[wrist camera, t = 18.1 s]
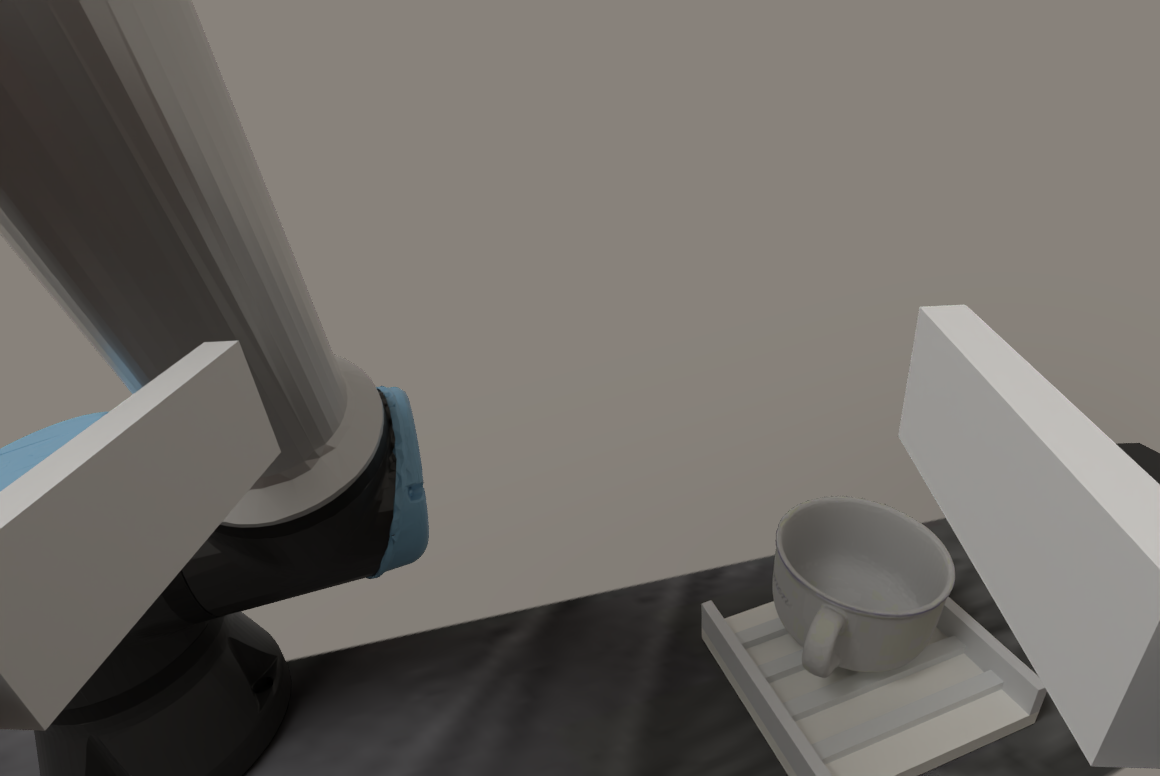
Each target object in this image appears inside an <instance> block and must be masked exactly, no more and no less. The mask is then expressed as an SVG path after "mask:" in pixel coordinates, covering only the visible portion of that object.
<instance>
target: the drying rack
mask: <svg viewBox="0 0 1160 776" xmlns="http://www.w3.org/2000/svg"><path fill="white" fill-rule="evenodd" d="M701 612H702V639H703V641H704V642H705V644H706V645H707V647H708V649H709V650H710V652H711V653H712V655H713V656H714V658H715V660H716V661H717V663H718V664H719V666H720V668H721V669H722V671H723V672H724V674H725V676H726V677H727V679H728V680H729V682H730V684H731V685H732V687H733V688H734V690H735V691H736V693H737V695H738V696H739V698H740V699H741V701H742V703H743V704H744V706H745V707H746V709H747V711H748V712H749V714H750V715H751V717H752V719H753V720H754V722H755V723H756V725H757V727H758V728H759V730H760V731H761V733H762V734H763V736H764V738H765V739H766V741H767V742H768V744H769V746H770V747H771V749H772V750H773V752H774V754H775V755H776V757H777V758H778V760H779V762H780V763H781V765H782V766H783V768H784V769H785V771H786V773H787V774H788V776H918V775H920V774H923V773H925V772H927V771H929V770H932V769H934V768H936V767H938V766H940V765H943V764H945V763H947V762H949V761H952V760H954V759H956V758H958V757H960V756H963V755H965V754H967V753H969V752H972V751H974V750H976V749H978V748H980V747H983V746H985V745H987V744H989V743H992V742H994V741H996V740H998V739H1000V738H1003V737H1005V736H1007V735H1009V734H1011V733H1014V732H1016V731H1018V730H1020V729H1023V728H1025V727H1027V726H1029V725H1031V724H1034V723H1035V721H1036V718H1037V716H1038V713H1039V711H1040V708H1041V705H1042V703H1043V700H1044V697H1045V695H1046V692H1047V690H1046V688H1045V686H1044V685H1043V683H1042V681H1041V680H1040V678H1039V677H1038V676H1037V675H1036V674H1035V673H1034V672H1033V671H1032V670H1031V669H1029V668H1028V667H1027V666H1026V665H1025V664H1024V663H1023V662H1022V661H1020V660H1019V659H1018V658H1017V657H1016V656H1015V655H1014V654H1013V653H1011V652H1010V651H1009V650H1008V649H1007V648H1006V647H1005V646H1004V645H1002V644H1001V643H1000V642H999V641H998V640H997V639H996V638H995V637H993V636H992V635H991V634H990V633H989V632H988V631H987V630H986V629H984V628H983V627H982V626H981V625H980V624H979V623H978V622H977V621H975V620H974V619H973V618H972V617H971V616H970V615H969V614H968V613H966V612H965V611H964V610H963V609H962V608H961V607H960V606H959V605H957V604H956V603H955V602H954V601H953V600H952V599H951V598H950V597H948V598H947V599H946V602H945V605H944V607H943V610H942V613H941V615H940V618H939V621H938V623H937V626H936V628H935V630H934V632H933V634H932V636H931V639H930V640H929V642H928V644H927V645H926V647H925V648H924V649H923V651H922V652H921V653H920V654H919V655H918V656H917V657H916V658H915V659H913V660H912V661H910V662H909V663H907V664H905V665H903V666H901V667H899V668H896V669H893V670H889V671H883V672H873V673H871V672H859V671H852V670H848V669H844V668H840V667H837V668H836V669H834V670H833V672H832V673H831V675H830V676H829V677H826V678H822V677H818V676H815V675H813V674H811V673H810V672H808V671H807V670H806V669H805V668H804V667H803V665H802V652H803V647H802V646H801V645H800V644H799V643H798V642H796V641H795V639H794V638H793V637H792V636H791V635H790V634H789V633H788V631H787V630H786V628H785V627H784V626H783V624H782V622H781V620H780V618H779V616H778V613H777V611H776V608H775V604H774V601H773V602H770V603H767V604H764V605H761V606H759V607H756V608H753V609H750V610H747V611H744V612H742V613H739V614H736V615H733V616H730V617H727V618H725V619H724V618H723V616H722V615H721V614H720V612H719V611H718V609H717V608H716V606H715V605H714V603H713V602H712V600H710V601H708V602H705V603H702V604H701Z"/></svg>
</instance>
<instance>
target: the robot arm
mask: <svg viewBox="0 0 1160 776" xmlns="http://www.w3.org/2000/svg"><path fill="white" fill-rule="evenodd" d="M0 235H1V236H2V237H3V238H4V239H5V241H6V242H7V243H8V244H9V245H10V247H11V248H12V249H13V250H14V251H15V253H16V254H17V255H18V256H19V258H20V259H21V260H22V261H23V262H24V264H25V265H26V266H27V267H28V268H29V269H30V271H31V272H32V273H33V274H34V276H35V277H36V278H37V279H38V280H39V282H40V283H41V284H42V285H43V286H44V288H45V289H46V290H47V291H48V293H49V294H50V295H51V296H52V297H53V299H54V300H55V301H56V302H57V303H58V304H59V306H60V307H61V308H62V309H63V311H64V312H65V313H66V314H67V315H68V317H69V318H70V319H71V320H72V321H73V323H74V324H75V325H76V326H77V328H78V329H79V330H80V331H81V332H82V333H83V335H84V336H85V337H86V338H87V340H88V341H89V342H90V343H91V344H92V346H93V347H94V348H95V349H96V350H97V352H98V353H99V354H100V355H101V356H102V358H103V359H104V360H105V361H106V362H107V364H108V365H109V366H110V367H111V369H112V370H113V371H114V372H115V373H116V374H117V376H118V377H119V378H120V379H121V381H122V382H123V383H124V384H125V385H126V387H127V388H128V389H129V390H130V392H131V393H132V394H133V395H132V396H130V397H129V398H128V399H126V400H125V401H123V402H122V403H121V404H119V405H118V406H117V407H115V408H114V409H112V410H111V411H110V412H99V413H93V414H88V415H83V416H80V417H76V418H72V419H69V420H66V421H63V422H60V423H57V424H54V425H51V426H49V427H46V428H44V429H41V430H39V431H36V432H34V433H32V434H30V435H27V436H25V437H23V438H21V439H19V440H16V441H14V442H13V443H10V444H8V445H7V446H4V447H2V448H1V449H0V729H10V730H34V733H35V740H36V747H37V754H38V762H39V769H40V776H242V775H243V774H244V773H245V772H246V771H247V770H248V769H249V768H250V767H251V766H252V765H253V763H254V762H255V761H256V760H257V759H258V758H259V756H260V755H261V754H262V753H263V751H264V750H265V749H266V747H267V746H268V744H269V743H270V741H271V740H272V738H273V737H274V735H275V733H276V732H277V730H278V728H279V726H280V724H281V722H282V720H283V718H284V715H285V713H286V710H287V707H288V703H289V699H290V693H291V676H290V671H289V668H288V665H287V663H286V661H285V659H284V657H283V654H282V652H281V650H280V648H279V646H278V644H277V643H276V641H275V640H274V639H273V638H272V636H271V635H270V634H269V633H268V632H267V631H265V630H264V629H263V628H261V627H260V626H259V625H258V624H256V623H255V622H254V621H253V620H251V619H250V618H248V617H247V616H246V615H245V614H244V613H242V612H241V611H244V610H247V609H251V608H255V607H259V606H262V605H266V604H270V603H273V602H277V601H281V600H284V599H288V598H292V597H295V596H299V595H303V594H307V593H310V592H313V591H317V590H321V589H325V588H329V587H332V586H336V585H340V584H343V583H347V582H351V581H354V580H358V579H362V578H365V577H366V578H368V579H373V578H377V577H380V575H382V574H383V573H384V572H386V571H389V570H392V569H395V568H398V567H401V566H404V565H407V564H410V563H412V562H414V561H416V560H417V559H419V558H420V557H421V555H422V554H423V553H424V551H425V549H426V547H427V544H428V538H429V525H428V513H427V505H426V496H425V491H424V488H423V476H422V466H421V458H420V452H419V446H418V440H417V434H416V429H415V424H414V419H413V415H412V411H411V406H410V402H409V399H408V396H407V395H406V393H405V392H404V391H403V390H401V389H400V388H397V387H391V388H386V387H384V386H381V387H375V385H374V383H373V382H372V380H371V379H370V377H369V376H368V375H367V374H366V373H365V372H364V371H363V370H362V369H361V368H359V367H358V366H356V365H355V364H354V363H352V362H350V361H348V360H347V359H345V358H342V357H340V356H337V355H335V354H333V352H332V350H331V347H330V345H329V342H328V340H327V337H326V335H325V332H324V330H323V327H322V325H321V322H320V320H319V317H318V315H317V312H316V310H315V307H314V305H313V302H312V300H311V297H310V295H309V292H308V290H307V287H306V285H305V282H304V280H303V277H302V275H301V272H300V270H299V267H298V265H297V262H296V260H295V257H294V255H293V252H292V250H291V247H290V245H289V242H288V240H287V237H286V235H285V232H284V230H283V227H282V225H281V222H280V220H279V217H278V215H277V212H276V210H275V207H274V205H273V202H272V200H271V197H270V195H269V192H268V190H267V187H266V185H265V182H264V180H263V177H262V175H261V172H260V170H259V167H258V165H257V162H256V160H255V157H254V155H253V152H252V150H251V147H250V145H249V142H248V140H247V137H246V135H245V133H244V130H243V127H242V125H241V122H240V120H239V117H238V115H237V113H236V110H235V107H234V105H233V102H232V100H231V97H230V95H229V92H228V90H227V87H226V85H225V82H224V80H223V77H222V75H221V72H220V70H219V67H218V65H217V62H216V60H215V57H214V55H213V52H212V50H211V47H210V45H209V42H208V40H207V37H206V35H205V32H204V30H203V27H202V25H201V22H200V20H199V17H198V15H197V13H196V10H195V7H194V5H193V2H192V0H0ZM898 436H899V438H900V440H901V442H902V443H903V445H904V447H905V448H906V450H907V452H908V454H909V455H910V457H911V458H912V461H913V462H914V464H915V466H916V467H917V469H918V471H919V472H920V474H921V476H922V478H923V479H924V481H925V483H926V484H927V486H928V488H929V490H930V491H931V493H932V495H933V496H934V498H935V500H936V502H937V503H938V505H939V507H940V508H941V510H942V512H943V514H944V515H945V517H946V519H947V520H948V522H949V524H950V526H951V527H952V529H953V531H954V532H955V534H956V536H957V538H958V539H959V541H960V543H961V544H962V546H963V548H964V550H965V551H966V553H967V555H968V556H969V558H970V560H971V562H972V563H973V565H974V567H975V568H976V570H977V572H978V573H979V575H980V577H981V579H982V580H983V582H984V584H985V585H986V587H987V589H988V591H989V592H990V594H991V596H992V597H993V599H994V601H995V603H996V604H997V606H998V608H999V609H1000V611H1001V613H1002V615H1003V616H1004V618H1005V620H1006V621H1007V623H1008V625H1009V627H1010V628H1011V630H1012V632H1013V633H1014V635H1015V637H1016V639H1017V640H1018V642H1019V644H1020V645H1021V647H1022V649H1023V651H1024V652H1025V654H1026V656H1027V657H1028V659H1029V661H1030V663H1031V664H1032V666H1033V668H1034V669H1035V671H1036V673H1037V674H1038V676H1039V678H1040V680H1041V681H1042V683H1043V685H1044V686H1045V688H1046V690H1047V692H1048V693H1049V695H1050V697H1051V698H1052V700H1053V702H1054V704H1055V705H1056V707H1057V709H1058V710H1059V712H1060V714H1061V716H1062V717H1063V719H1064V721H1065V722H1066V724H1067V726H1068V728H1069V729H1070V731H1071V733H1072V734H1073V736H1074V738H1075V740H1076V741H1077V743H1078V745H1079V746H1080V748H1081V750H1082V752H1083V753H1084V755H1085V757H1086V758H1087V760H1088V762H1089V764H1090V765H1091V766H1097V767H1127V768H1128V767H1129V768H1158V769H1160V453H1158V452H1156V451H1154V450H1152V449H1150V448H1148V447H1146V446H1144V445H1142V444H1140V443H1124V444H1115V443H1114V442H1113V441H1112V440H1111V439H1110V438H1109V437H1108V436H1107V435H1106V434H1104V433H1103V432H1102V431H1101V430H1100V429H1099V428H1098V427H1097V426H1096V425H1095V424H1094V423H1093V422H1092V421H1090V420H1089V419H1088V418H1087V417H1086V416H1085V415H1084V414H1083V413H1082V412H1081V411H1080V410H1079V409H1078V408H1077V407H1075V406H1074V405H1073V404H1072V403H1071V402H1070V401H1069V400H1068V399H1067V398H1066V397H1065V396H1064V395H1062V394H1061V393H1060V392H1059V391H1058V390H1057V389H1056V388H1055V387H1054V386H1053V385H1052V384H1051V383H1049V382H1048V381H1047V380H1046V379H1045V378H1044V377H1043V376H1042V375H1041V374H1040V373H1039V372H1038V371H1036V370H1035V369H1034V368H1033V367H1032V366H1031V365H1030V364H1029V363H1028V362H1027V361H1026V360H1025V359H1024V358H1022V357H1021V356H1020V355H1019V354H1018V353H1017V352H1016V351H1015V350H1014V349H1013V348H1012V347H1011V346H1009V345H1008V344H1007V343H1006V342H1005V341H1004V340H1003V339H1002V338H1001V337H1000V336H999V335H998V334H997V333H996V332H994V331H993V330H992V329H991V328H990V327H989V326H988V325H987V324H986V323H985V322H984V321H983V320H981V319H980V318H979V317H978V316H977V315H976V314H975V313H974V312H973V311H972V310H971V309H970V308H969V307H967V306H966V305H949V306H948V305H947V306H929V307H928V306H927V307H920V308H919V314H918V320H917V326H916V332H915V338H914V345H913V350H912V356H911V362H910V369H909V374H908V380H907V386H906V393H905V399H904V405H903V410H902V416H901V423H900V429H899V435H898Z"/></svg>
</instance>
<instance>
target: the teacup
mask: <svg viewBox="0 0 1160 776" xmlns="http://www.w3.org/2000/svg"><path fill="white" fill-rule="evenodd" d="M954 582H955V568H954V564H953V561H952V559H951V556H950V554H949V552H948V550H947V549H946V547H945V546H944V544H943V543H942V542H941V541H940V539H939V538H938V537H937V536H936V535H935V534H934V533H933V532H932V531H930V530H929V529H928V528H927V527H925V526H924V525H923V524H921V523H920V522H918V521H917V520H915V519H913V518H912V517H910V516H908V515H907V514H905V513H903V512H900V511H898V510H896V509H894V508H893V507H890V506H888V505H886V504H881V503H877V502H874V501H869V500H866V499H863V498H853V497H847V496H835V497H834V496H831V497H822V498H817V499H813V500H809V501H806V502H804V503H801V504H799V505H797V506H795V507H793V508H792V509H791V510H789V511H788V512H787V513H786V514H785V515H784V516H783V518H782V519H781V521H780V523H779V525H778V529H777V532H776V553H775V560H774V570H773V598H774V604H775V608H776V611H777V613H778V616H779V618H780V620H781V622H782V624H783V626H784V627H785V628H786V630H787V631H788V633H789V634H790V635H791V636H792V637H793V638H794V639H795V641H796V642H798V643H799V644H800V645H801V646H802V647H803V652H802V665H803V667H804V668H805V669H806V670H807V671H808V672H810V673H811V674H813V675H815V676H818V677H822V678H826V677H829V676H830V675H831V673H832V672H833V670H834V669H836V668H837V667H840V668H844V669H848V670H852V671H859V672H871V673H873V672H883V671H889V670H893V669H896V668H899V667H901V666H903V665H905V664H907V663H909V662H910V661H912V660H913V659H915V658H916V657H917V656H918V655H919V654H920V653H921V652H922V651H923V649H924V648H925V647H926V645H927V644H928V642H929V640H930V639H931V636H932V634H933V632H934V630H935V628H936V626H937V623H938V621H939V618H940V615H941V613H942V610H943V607H944V605H945V602H946V599H947V598H948V596H949V595H950V593H951V591H952V588H953V586H954Z"/></svg>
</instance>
